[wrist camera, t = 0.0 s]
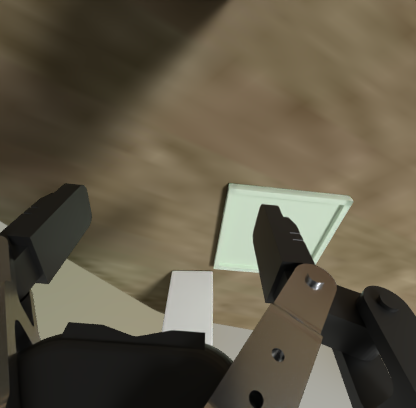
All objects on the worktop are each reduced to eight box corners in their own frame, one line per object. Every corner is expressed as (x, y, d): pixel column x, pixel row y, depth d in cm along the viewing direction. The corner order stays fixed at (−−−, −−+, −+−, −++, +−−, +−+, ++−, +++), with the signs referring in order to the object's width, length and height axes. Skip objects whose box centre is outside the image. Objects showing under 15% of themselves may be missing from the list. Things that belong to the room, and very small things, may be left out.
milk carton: (172, 269, 41) (147, 411, 26) (212, 270, 41) (211, 412, 26) (176, 293, 46) (157, 425, 30) (212, 293, 45) (212, 427, 30)
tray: (228, 183, 30) (229, 188, 29) (349, 195, 31) (353, 201, 30) (213, 262, 40) (213, 268, 39) (305, 271, 41) (307, 277, 40)
